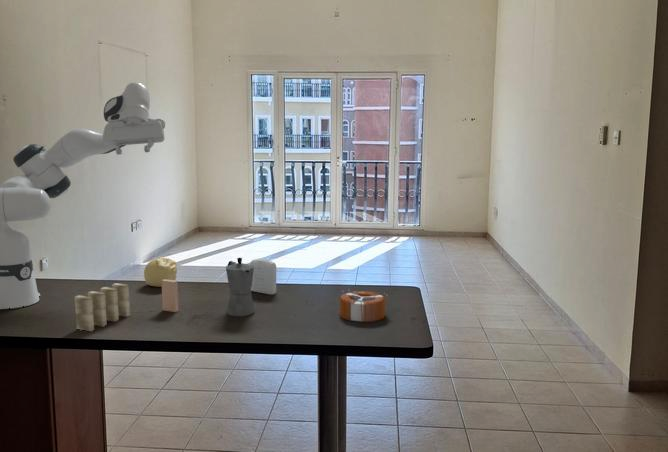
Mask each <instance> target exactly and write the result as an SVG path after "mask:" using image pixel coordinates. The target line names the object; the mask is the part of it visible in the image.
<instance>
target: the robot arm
mask: <svg viewBox="0 0 668 452" xmlns="http://www.w3.org/2000/svg"><path fill="white" fill-rule="evenodd" d="M150 101H151V99H150V92H149V89H148V88H147V87H146V86H145V85H143V84H142V83H139V82H129V83H128V84H127V85H126V86H125V88H124V91H123V92H122V93H121V94H120V95H117V96H114V97H112V98H110V99H108V101H106V103H105V104H104V107H103V119H104V121H105V122H107V123H106V124H105V126H104V130H103V133H101V132H97V131H94V130H90V129H87V128H81V127H80V128H79V127H78V128H74V129H72V130H70V131H68V132H67V133H65V134H64V135H63V136H62V137H60V138H59V139H58V140H57V141H56V142H55V143H54V144H53V145H52V146H51V147H50V148H48V149H46V148H45V147H46V145H45V144H43V145H39V144H36V143H35V144H33V143H30V144H27V145H25V146H21V147H20V148H19V149H18V150H17V151H16V153H15V154H14V156H13V159H12V160H13V163H14V164H15V166H16V167H17V168H19V169H20V171H21V172H22V173H23V174H19V175H13V176H11V177H9V178H8V179H6V180H4V182H3V183H2V184H1V185H0V310H8V309H9V308H10V309H18V308H23V306H24V307H28V306H31V305H34V304H36V303H38V302H39V301H40V297H41V293H40V292H39V291H38V287H37V281H36V276H35V274H34V273H33V271H34V267H33V266H34V265H33V261H32V259H31V250H30V249H31V247H30V240H29V237H28V236H27V235H25V234H24V233H22V232H21V231H20V232H19V231H17V230H16V229H13V228H11V227H10V225H9V223H8V222H24V221H25V222H26V221H28V222H29V221H32V220H33V221H35V220H39V219H43V218H45V217H46V216H47V215H48V214H49V212H50V210H51V207H52V206H51V199H55V198H58V197H61V196H63V195H64V194H65V193H67V192H68V190H69V188H70V187H71V180H70V178H69V177H68V175H66V174H65V173H64V171H63V170H62V169H63V168H64V169H65V168H66V169H67V168H69V167H71V166H74V165H76V164H78V163H80V162H81V161H83V160H85V159H87V158H89V157H92V156H96V155H106V154H110V153H112V152H114V151H115V154H116V155H122V153H123V151H122V149H121V148H123V147H125V146H128V145H129V146H130V145H144V144H146V145H144V146H143V148H144V149H143V150H144V152H145V153H150V152H151V148H152V147H153V146H154V144H155V143H163V142H164V141H165V131H164V129H165V128H166V122H165V120H163V119H162V118H157V119H154V118H153V119H152V117H151V116H150V115H149V109H150V106H151V105H150V104H151V103H150ZM44 148H45V149H44ZM39 296H40V297H39Z"/></svg>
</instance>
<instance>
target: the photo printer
mask: <svg viewBox="0 0 668 452" xmlns="http://www.w3.org/2000/svg"><path fill="white" fill-rule="evenodd" d="M249 265H253V266H254V271H253V279H252V287H251V292H255V293H259V294H261V293H262V294H265V295H275V294H276V293H277V264H276V263H275V262H274V261H272V260H270V259H267V258H255V259H252V260H251V261H250V262H249Z"/></svg>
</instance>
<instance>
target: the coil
mask: <svg viewBox="0 0 668 452" xmlns="http://www.w3.org/2000/svg"><path fill="white" fill-rule="evenodd" d="M386 298H388V294H386V295H385V296H384V295H382V294H381V293H378V292H374V291H364V290H363V291H359V290H357V291H356V290H355V291H350V289H348V292H347V293H344V290H342V293H341V295H340V297H339V316H340V317H341V318H342V319H344V320H346V321H354V322H361V323H370V322H377V321H380V320H382V319H384V318H385V317H386V302H387V300H386Z"/></svg>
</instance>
